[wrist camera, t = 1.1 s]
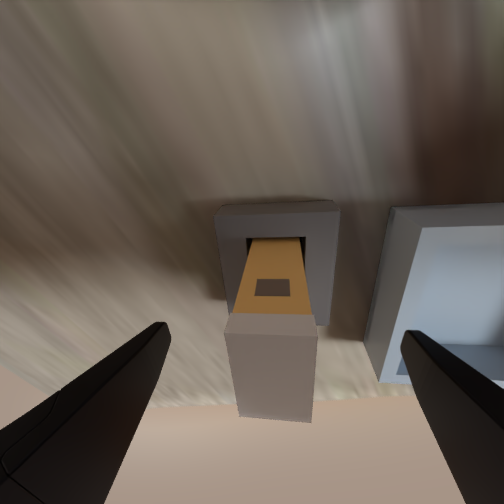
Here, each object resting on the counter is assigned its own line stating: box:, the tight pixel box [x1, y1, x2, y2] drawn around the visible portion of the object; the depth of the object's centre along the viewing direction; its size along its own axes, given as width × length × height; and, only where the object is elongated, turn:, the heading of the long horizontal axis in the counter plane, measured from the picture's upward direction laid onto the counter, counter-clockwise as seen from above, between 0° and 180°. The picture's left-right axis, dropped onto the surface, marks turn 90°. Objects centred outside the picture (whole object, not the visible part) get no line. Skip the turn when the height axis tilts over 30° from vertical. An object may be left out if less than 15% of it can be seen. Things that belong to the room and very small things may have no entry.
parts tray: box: [363, 202, 504, 389], centre depth 12 cm, size 10×10×3 cm
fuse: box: [224, 237, 318, 423], centre depth 10 cm, size 2×4×8 cm, turn 4°
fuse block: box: [213, 200, 341, 326], centre depth 13 cm, size 6×7×2 cm
